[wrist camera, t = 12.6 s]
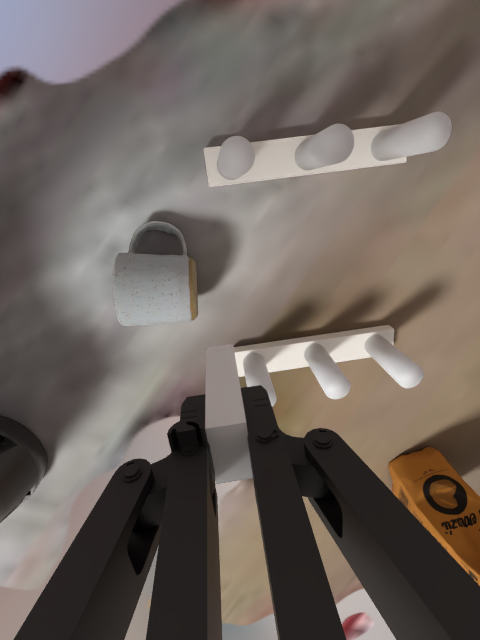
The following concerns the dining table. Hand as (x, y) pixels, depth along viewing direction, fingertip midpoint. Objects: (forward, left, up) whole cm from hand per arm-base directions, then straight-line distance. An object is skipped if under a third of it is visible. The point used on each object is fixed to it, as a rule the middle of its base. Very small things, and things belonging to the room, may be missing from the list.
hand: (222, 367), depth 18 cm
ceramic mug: (-6, +2, -22) cm, 23 cm away
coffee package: (+28, -38, -22) cm, 52 cm away
